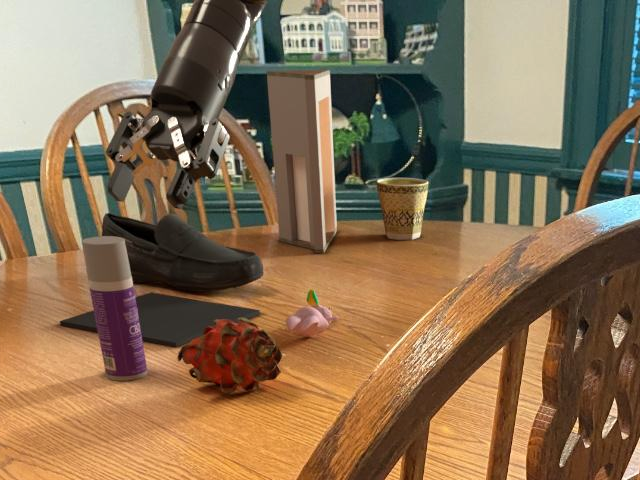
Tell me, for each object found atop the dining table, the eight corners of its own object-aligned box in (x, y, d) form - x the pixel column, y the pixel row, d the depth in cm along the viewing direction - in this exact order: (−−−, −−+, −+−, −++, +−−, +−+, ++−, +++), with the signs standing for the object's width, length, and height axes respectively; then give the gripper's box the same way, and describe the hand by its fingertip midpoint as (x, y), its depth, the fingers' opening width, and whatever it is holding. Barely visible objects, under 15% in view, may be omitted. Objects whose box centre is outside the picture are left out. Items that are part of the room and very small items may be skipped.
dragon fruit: (292, 407, 103) (193, 416, 105) (298, 345, 106) (201, 355, 108) (265, 362, 95) (159, 372, 97) (272, 296, 98) (169, 308, 100)
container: (145, 380, 105) (122, 244, 97) (103, 381, 104) (76, 244, 96) (149, 367, 109) (128, 235, 101) (109, 368, 108) (84, 236, 100)
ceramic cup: (408, 244, 172) (408, 186, 167) (367, 237, 177) (365, 181, 171) (446, 233, 182) (447, 179, 176) (405, 227, 186) (405, 174, 181)
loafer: (246, 301, 135) (239, 228, 130) (83, 282, 143) (70, 213, 137) (279, 285, 144) (273, 216, 138) (123, 268, 151) (112, 203, 146)
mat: (60, 325, 123) (59, 320, 123) (151, 296, 137) (151, 292, 136) (176, 347, 116) (175, 342, 115) (260, 314, 130) (259, 309, 129)
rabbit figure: (301, 329, 128) (272, 342, 114) (300, 284, 126) (270, 293, 112) (345, 331, 128) (321, 345, 114) (344, 286, 125) (320, 295, 112)
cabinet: (323, 253, 164) (314, 75, 149) (270, 252, 164) (255, 73, 149) (337, 231, 182) (329, 69, 167) (289, 230, 182) (277, 68, 167)
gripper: (128, 51, 104) (74, 172, 102) (229, 56, 99) (174, 183, 96) (166, 101, 111) (116, 216, 108) (262, 108, 106) (212, 228, 103)
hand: (143, 200), depth 102 cm, fingers open, 8 cm apart
